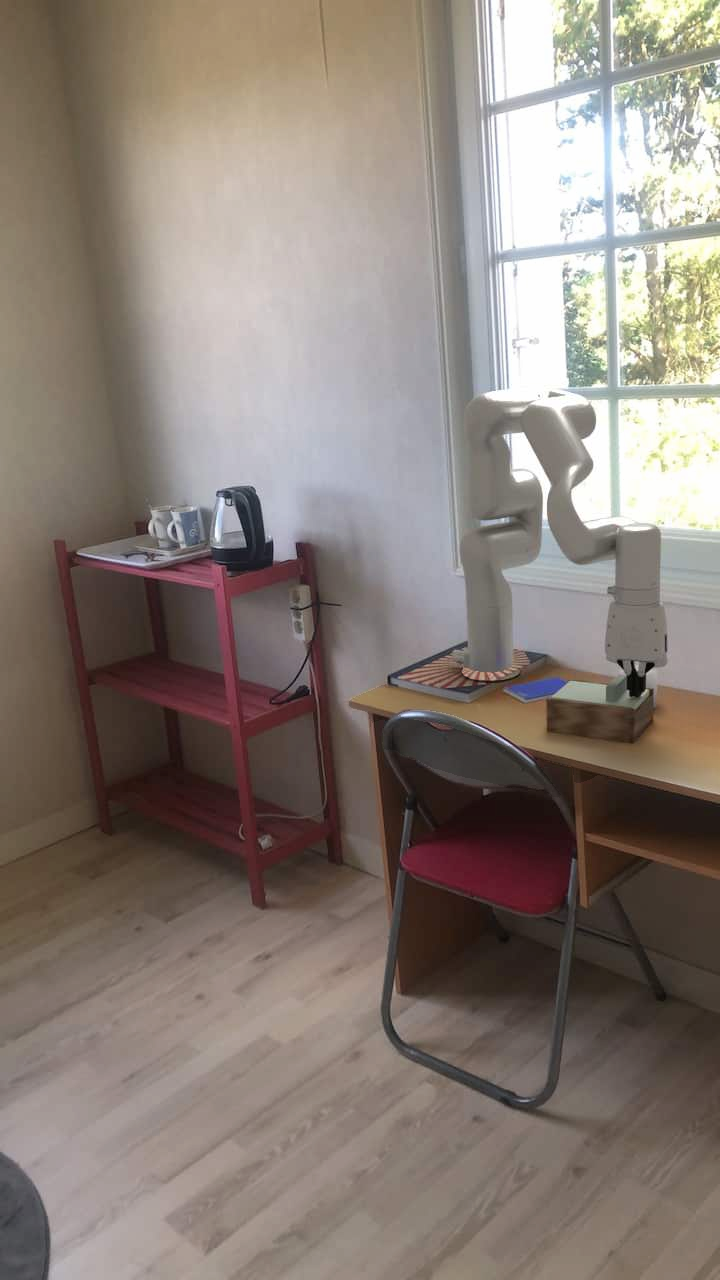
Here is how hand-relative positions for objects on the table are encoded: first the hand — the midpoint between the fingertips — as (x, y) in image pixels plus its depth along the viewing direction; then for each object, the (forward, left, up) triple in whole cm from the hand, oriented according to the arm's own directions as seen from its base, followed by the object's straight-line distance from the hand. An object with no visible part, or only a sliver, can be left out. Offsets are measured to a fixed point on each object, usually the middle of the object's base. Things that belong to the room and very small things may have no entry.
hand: (636, 694), depth 194 cm
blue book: (-23, +14, -8) cm, 28 cm away
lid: (-7, 0, -2) cm, 7 cm away
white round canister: (-4, +13, -7) cm, 15 cm away
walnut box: (-7, 0, -7) cm, 9 cm away
